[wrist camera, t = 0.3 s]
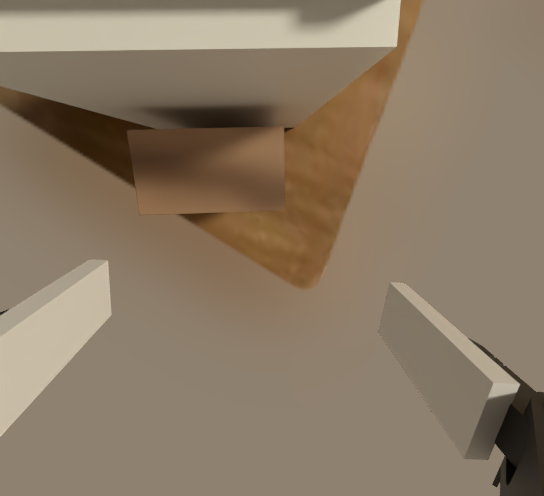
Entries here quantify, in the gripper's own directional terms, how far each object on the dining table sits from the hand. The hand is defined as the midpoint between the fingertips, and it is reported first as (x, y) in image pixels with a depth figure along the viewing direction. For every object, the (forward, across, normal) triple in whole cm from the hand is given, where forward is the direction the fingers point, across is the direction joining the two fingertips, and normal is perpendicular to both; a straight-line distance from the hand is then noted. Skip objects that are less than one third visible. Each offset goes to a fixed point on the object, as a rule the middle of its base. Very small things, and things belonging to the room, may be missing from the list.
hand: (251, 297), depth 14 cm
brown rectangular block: (+29, -4, +5) cm, 30 cm away
